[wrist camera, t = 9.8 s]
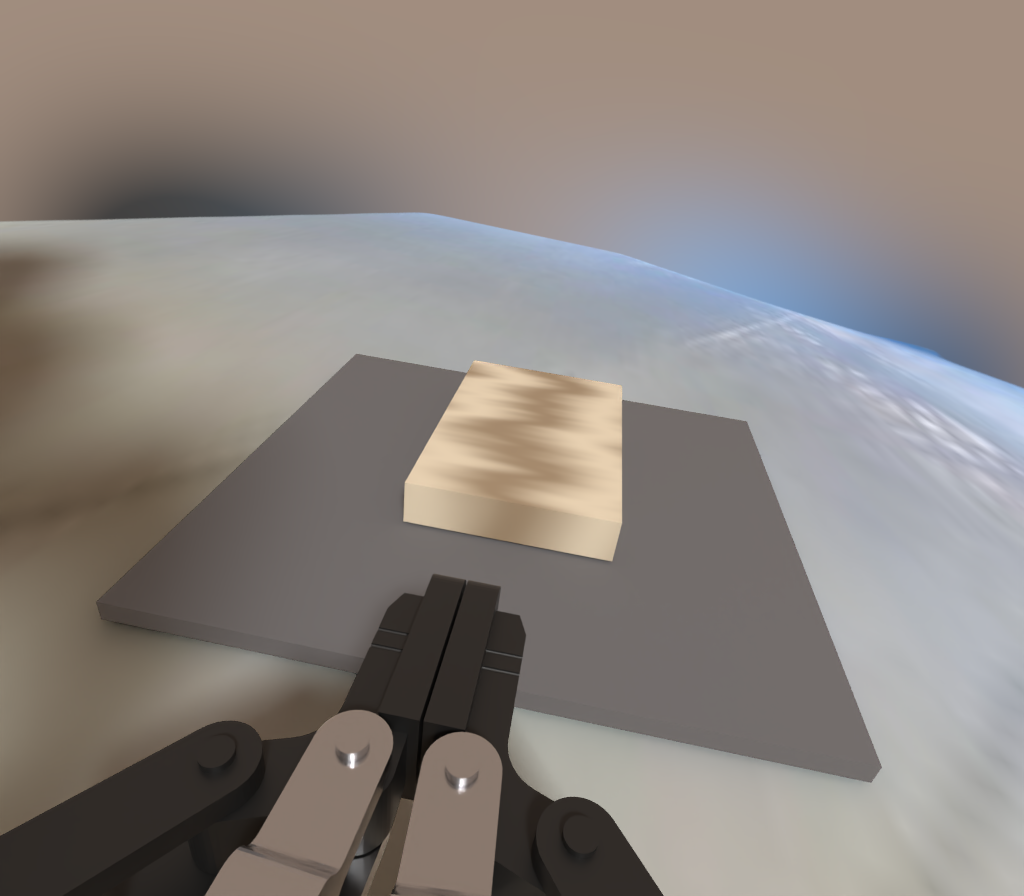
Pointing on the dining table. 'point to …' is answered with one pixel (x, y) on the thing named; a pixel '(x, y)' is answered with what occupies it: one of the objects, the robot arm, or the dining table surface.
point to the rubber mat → (523, 574)
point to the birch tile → (525, 462)
